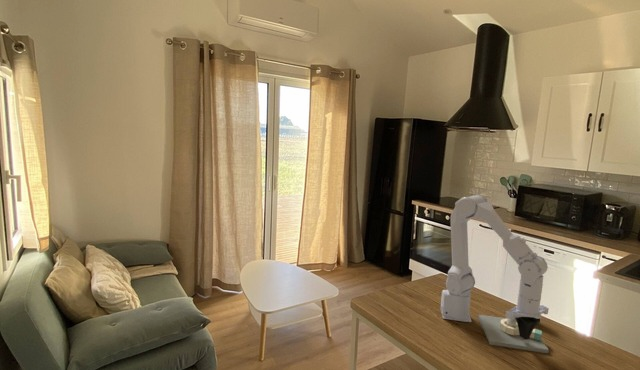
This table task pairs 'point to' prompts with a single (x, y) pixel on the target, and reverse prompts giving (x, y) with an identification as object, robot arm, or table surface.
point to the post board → (508, 335)
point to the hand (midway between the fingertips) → (524, 337)
